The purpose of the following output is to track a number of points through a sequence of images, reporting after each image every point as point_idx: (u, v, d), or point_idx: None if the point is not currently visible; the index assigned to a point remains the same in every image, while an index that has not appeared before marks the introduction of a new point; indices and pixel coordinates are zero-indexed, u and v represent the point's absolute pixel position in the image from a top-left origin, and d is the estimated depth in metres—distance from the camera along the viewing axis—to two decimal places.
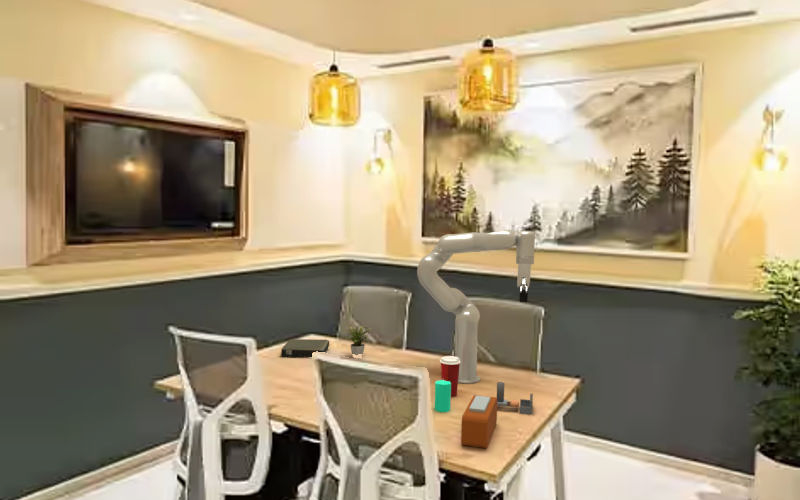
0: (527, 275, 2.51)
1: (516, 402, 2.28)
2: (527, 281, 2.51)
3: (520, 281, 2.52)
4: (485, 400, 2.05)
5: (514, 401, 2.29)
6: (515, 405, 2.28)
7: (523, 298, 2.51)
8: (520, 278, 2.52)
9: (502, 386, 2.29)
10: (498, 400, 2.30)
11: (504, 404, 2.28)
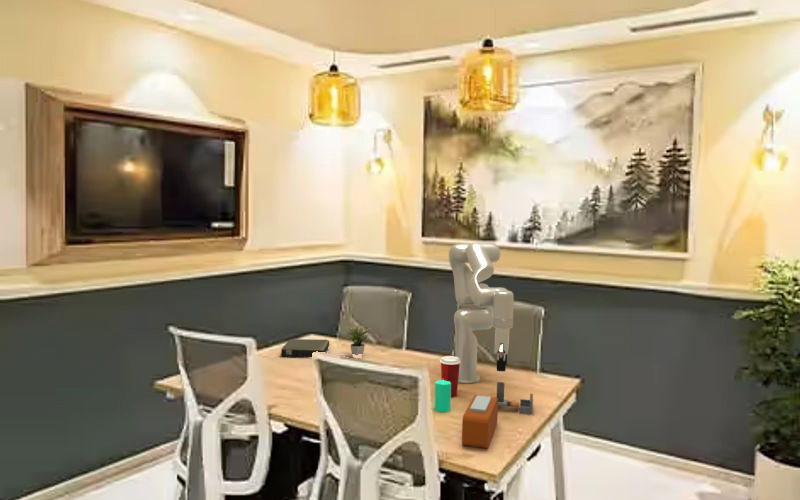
0: (505, 341, 2.23)
1: (516, 402, 2.28)
2: (505, 348, 2.23)
3: (497, 348, 2.24)
4: (486, 400, 2.05)
5: (514, 401, 2.29)
6: (515, 405, 2.28)
7: (501, 367, 2.23)
8: (497, 344, 2.24)
9: (502, 386, 2.29)
10: (498, 400, 2.30)
11: (504, 404, 2.28)
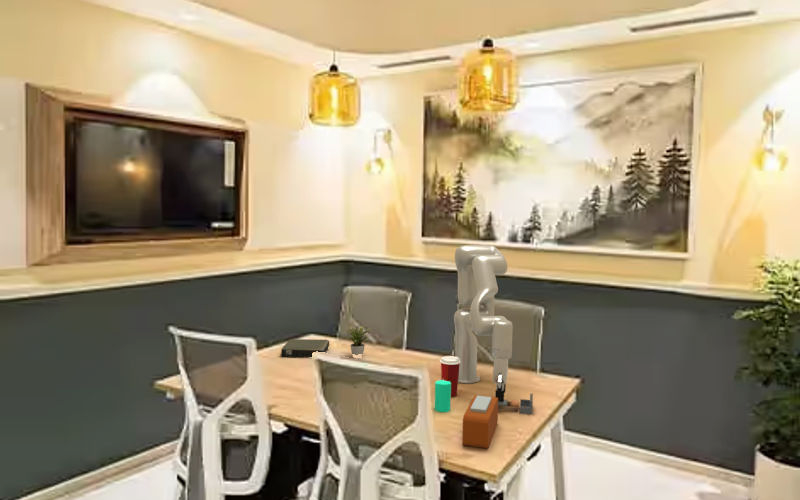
0: (504, 371, 2.25)
1: (516, 402, 2.28)
2: (504, 378, 2.25)
3: (496, 377, 2.25)
4: (486, 400, 2.05)
5: (514, 401, 2.29)
6: (515, 405, 2.28)
7: (499, 397, 2.25)
8: (496, 374, 2.25)
9: None
10: None
11: (504, 404, 2.28)
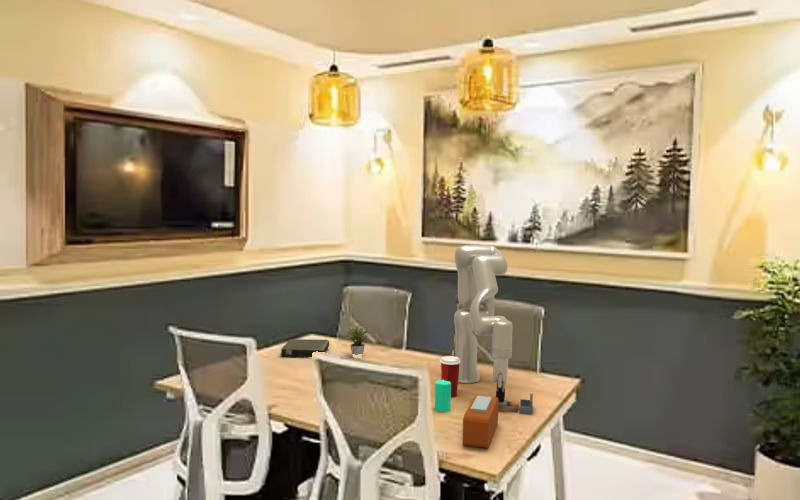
0: (504, 371, 2.25)
1: (516, 402, 2.28)
2: (504, 378, 2.25)
3: (496, 377, 2.25)
4: (486, 400, 2.05)
5: (514, 401, 2.29)
6: (515, 405, 2.28)
7: (499, 397, 2.28)
8: (496, 374, 2.25)
9: (502, 386, 2.29)
10: None
11: (504, 404, 2.28)
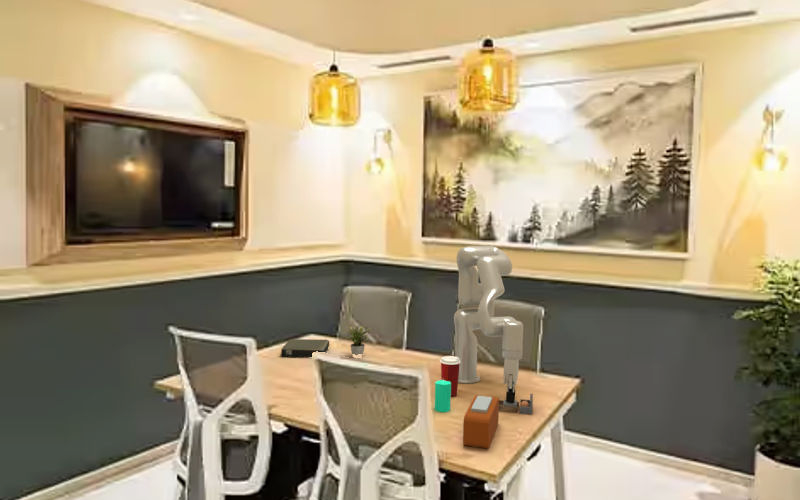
0: (514, 372, 2.24)
1: None
2: (514, 379, 2.24)
3: (506, 378, 2.24)
4: (487, 400, 2.05)
5: (528, 406, 2.28)
6: None
7: (510, 398, 2.27)
8: (506, 375, 2.24)
9: None
10: None
11: (514, 405, 2.27)
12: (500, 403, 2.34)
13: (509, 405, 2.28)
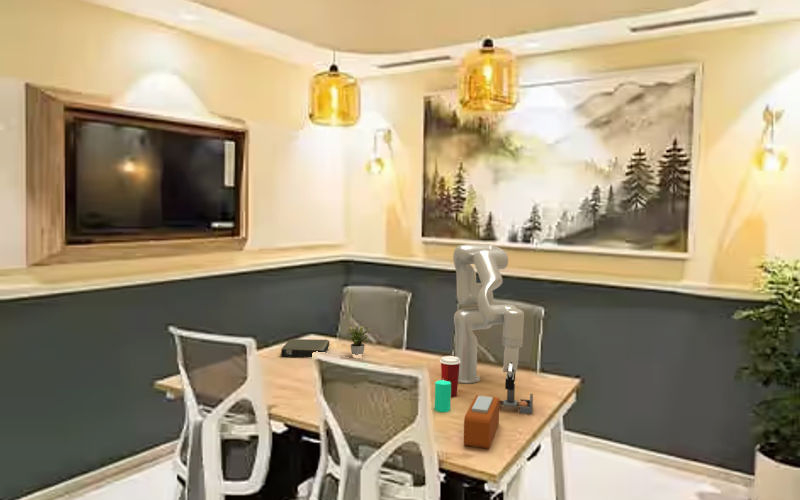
0: (514, 360, 2.24)
1: None
2: (514, 367, 2.24)
3: (506, 366, 2.24)
4: (487, 400, 2.05)
5: (527, 405, 2.28)
6: None
7: (509, 386, 2.24)
8: (506, 363, 2.24)
9: None
10: (508, 401, 2.29)
11: (515, 405, 2.27)
12: (500, 403, 2.34)
13: (509, 405, 2.28)
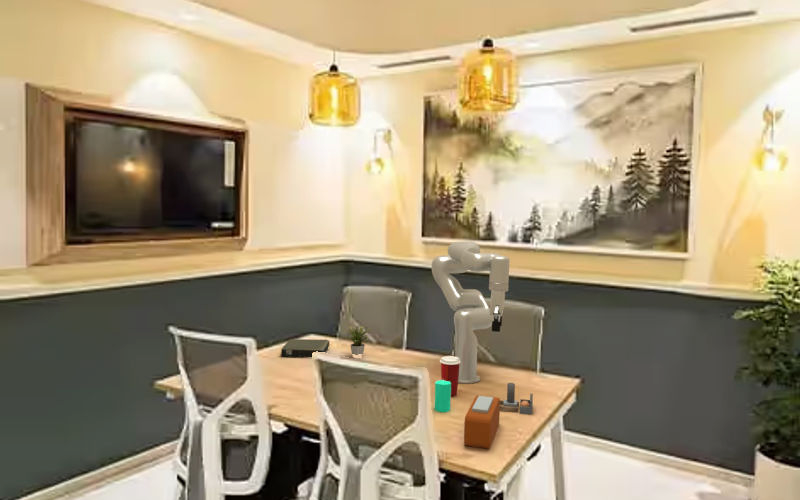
0: (500, 303, 2.36)
1: None
2: (500, 309, 2.36)
3: (493, 309, 2.37)
4: (488, 400, 2.05)
5: None
6: None
7: (495, 327, 2.37)
8: (493, 306, 2.37)
9: (512, 387, 2.28)
10: (508, 401, 2.29)
11: (515, 405, 2.27)
12: (500, 403, 2.34)
13: (509, 405, 2.28)
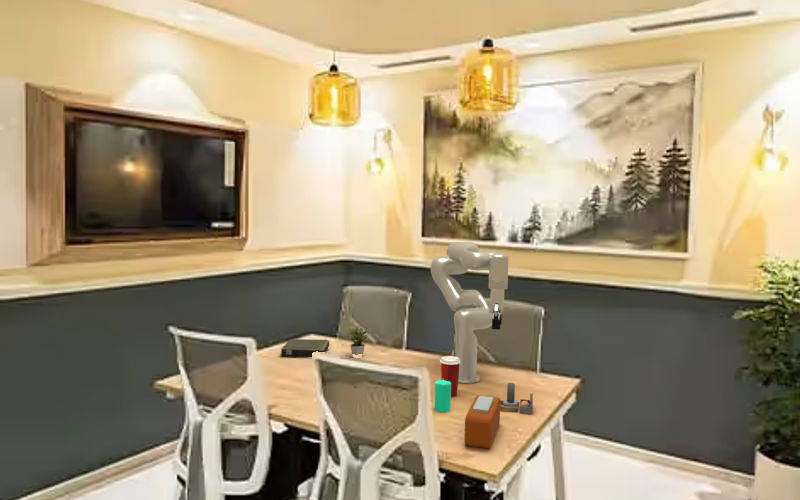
0: (500, 301, 2.37)
1: None
2: (500, 307, 2.37)
3: (492, 307, 2.37)
4: (488, 400, 2.05)
5: None
6: None
7: (495, 325, 2.37)
8: (492, 304, 2.37)
9: (512, 387, 2.28)
10: (508, 401, 2.29)
11: (515, 405, 2.27)
12: (500, 403, 2.34)
13: (509, 405, 2.28)
